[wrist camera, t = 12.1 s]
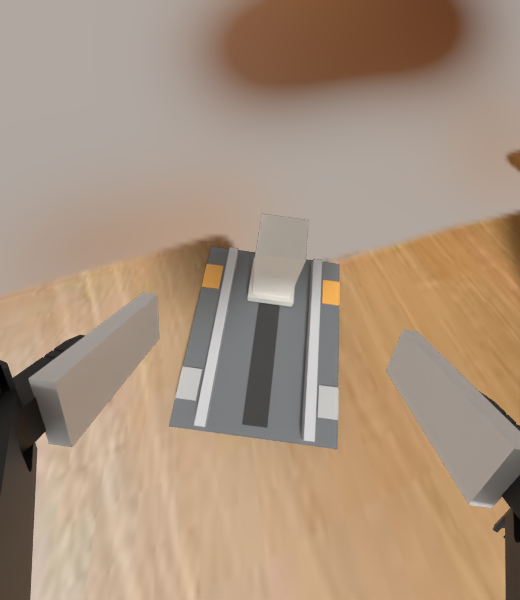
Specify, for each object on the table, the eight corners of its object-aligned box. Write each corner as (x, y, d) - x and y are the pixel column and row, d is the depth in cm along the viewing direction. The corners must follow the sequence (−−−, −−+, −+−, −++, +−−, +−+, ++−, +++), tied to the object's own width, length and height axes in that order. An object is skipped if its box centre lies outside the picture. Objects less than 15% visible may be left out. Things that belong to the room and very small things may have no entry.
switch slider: (294, 267, 30) (314, 215, 21) (291, 306, 28) (311, 267, 19) (253, 262, 30) (256, 208, 21) (247, 300, 28) (248, 258, 19)
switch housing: (331, 275, 33) (343, 259, 29) (327, 443, 26) (342, 452, 22) (213, 258, 33) (209, 240, 29) (177, 422, 26) (164, 427, 22)
